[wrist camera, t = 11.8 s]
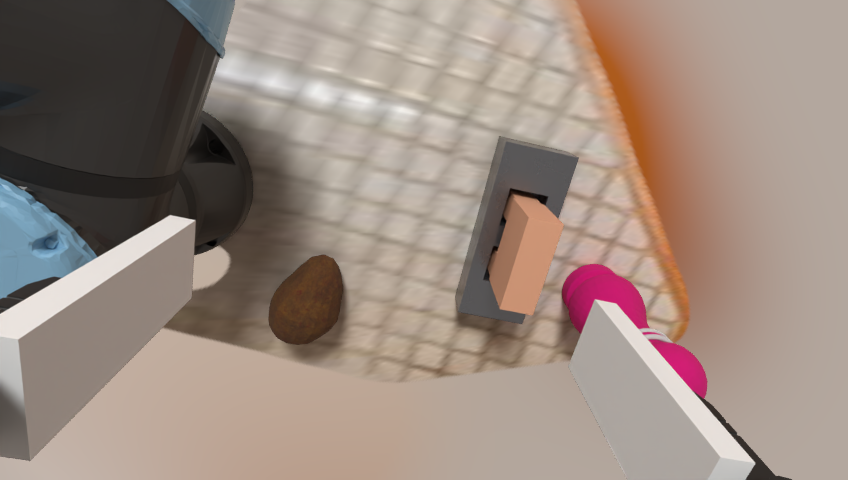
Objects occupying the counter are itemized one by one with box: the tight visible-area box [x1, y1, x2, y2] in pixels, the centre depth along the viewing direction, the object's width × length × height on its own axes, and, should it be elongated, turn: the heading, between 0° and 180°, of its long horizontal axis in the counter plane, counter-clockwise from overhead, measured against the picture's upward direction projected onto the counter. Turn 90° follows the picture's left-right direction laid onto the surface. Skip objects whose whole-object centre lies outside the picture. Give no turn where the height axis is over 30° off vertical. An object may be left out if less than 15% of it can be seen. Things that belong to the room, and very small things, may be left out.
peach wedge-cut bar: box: [487, 189, 564, 315], centre depth 42 cm, size 3×8×10 cm, turn 167°
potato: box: [269, 255, 343, 345], centre depth 46 cm, size 7×10×7 cm
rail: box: [455, 136, 579, 324], centre depth 46 cm, size 7×18×4 cm, turn 167°
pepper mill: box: [562, 264, 707, 399], centre depth 41 cm, size 7×7×20 cm
